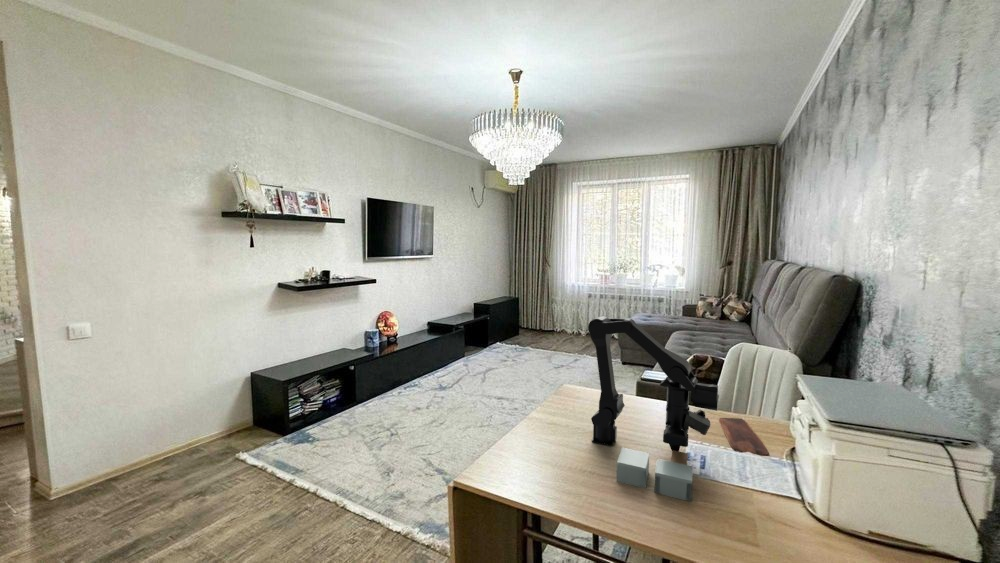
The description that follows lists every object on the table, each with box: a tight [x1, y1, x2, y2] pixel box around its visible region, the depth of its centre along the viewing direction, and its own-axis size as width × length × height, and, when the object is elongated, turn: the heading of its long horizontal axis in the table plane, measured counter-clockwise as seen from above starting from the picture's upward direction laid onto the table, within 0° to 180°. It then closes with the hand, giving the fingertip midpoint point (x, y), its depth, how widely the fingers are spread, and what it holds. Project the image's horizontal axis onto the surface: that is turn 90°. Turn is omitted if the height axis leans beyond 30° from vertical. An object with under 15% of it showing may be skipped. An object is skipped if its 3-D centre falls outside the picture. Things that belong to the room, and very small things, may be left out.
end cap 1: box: [616, 447, 650, 489], centre depth 107 cm, size 8×7×5 cm
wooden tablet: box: [718, 417, 770, 457], centre depth 131 cm, size 26×2×10 cm
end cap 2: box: [654, 458, 693, 503], centre depth 101 cm, size 8×7×5 cm
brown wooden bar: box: [670, 450, 689, 465], centre depth 107 cm, size 4×16×4 cm, turn 153°
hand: (675, 454), depth 116 cm, fingers closed
